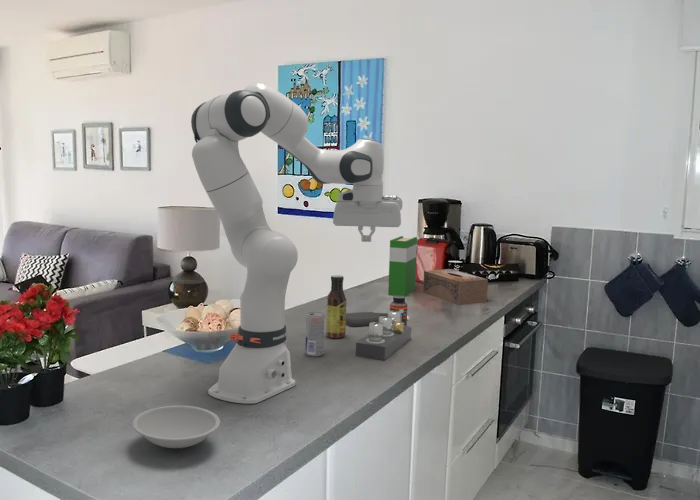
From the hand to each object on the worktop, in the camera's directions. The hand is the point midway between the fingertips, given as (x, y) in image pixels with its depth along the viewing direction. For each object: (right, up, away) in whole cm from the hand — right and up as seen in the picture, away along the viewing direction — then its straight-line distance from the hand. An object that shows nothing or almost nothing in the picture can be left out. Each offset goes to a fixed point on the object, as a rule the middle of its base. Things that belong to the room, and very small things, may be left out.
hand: (366, 241), depth 173 cm
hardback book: (+18, -22, +84) cm, 89 cm away
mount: (+6, -32, +5) cm, 33 cm away
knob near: (+3, -29, -3) cm, 29 cm away
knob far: (+9, -27, +12) cm, 31 cm away
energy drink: (-15, -33, -3) cm, 37 cm away
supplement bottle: (+12, -30, +25) cm, 41 cm away
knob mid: (+6, -28, +4) cm, 29 cm away
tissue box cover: (+40, -23, +77) cm, 90 cm away
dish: (-39, -41, -60) cm, 82 cm away
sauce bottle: (-9, -31, +15) cm, 36 cm away
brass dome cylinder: (+10, -28, +7) cm, 31 cm away
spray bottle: (+4, -29, +35) cm, 46 cm away
